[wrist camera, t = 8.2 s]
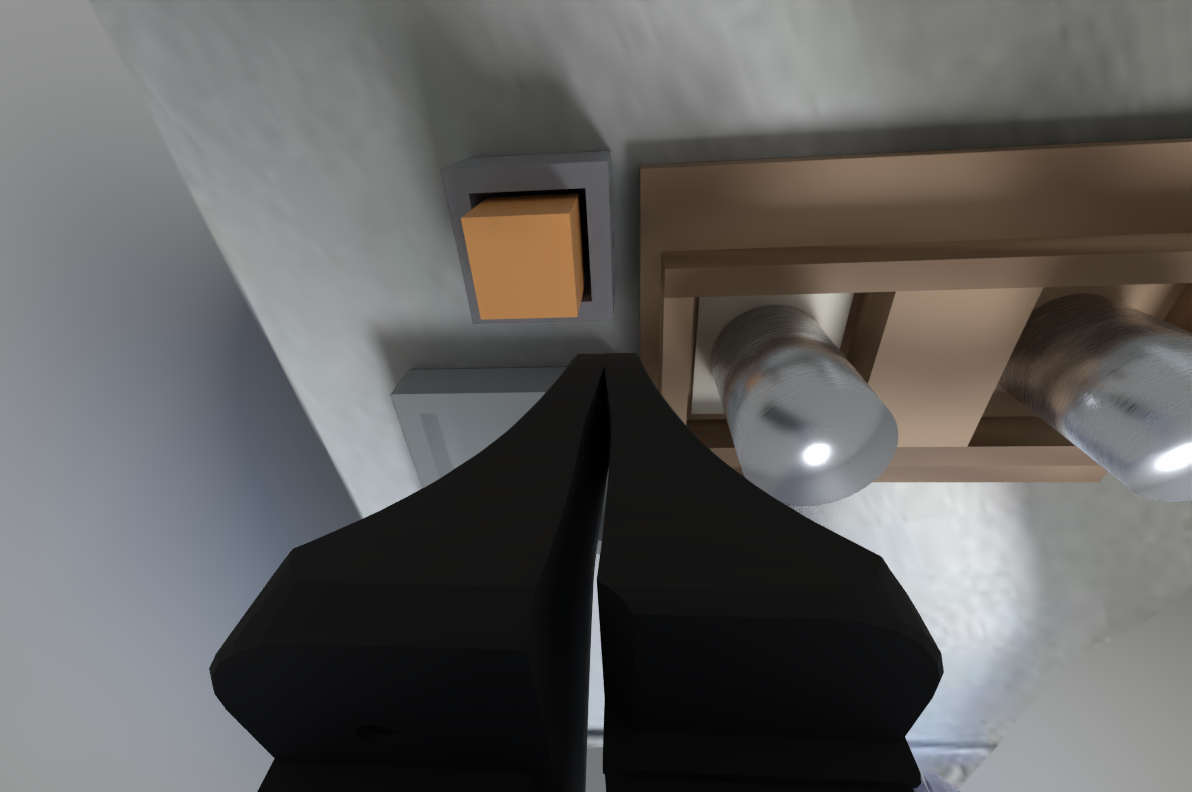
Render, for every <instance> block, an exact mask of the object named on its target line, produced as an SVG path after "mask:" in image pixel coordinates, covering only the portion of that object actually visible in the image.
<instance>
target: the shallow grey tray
mask: <svg viewBox="0 0 1192 792" xmlns="http://www.w3.org/2000/svg"><path fill="white" fill-rule="evenodd" d="M566 368H567V367H531V368H476V369H422V370H409V371H408V372H407V374H406V375H405V376H404V378H403V379H402V380H401V381H400V383H399V384H398V385H397V386H396V388H395V389H394V390H393V392H392V393H391V394H390V395H391V398H392V401H393V404H394V407H395V410H396V413H397V416H398V419H399V421H400V424H401V427H402V430H403V433H404V436H405V439H406V442H407V445H408V448H409V451H410V454H411V457H412V460H413V463H414V465H415V468H416V471H417V474H418V477H419V480H420V483H421V486H422V488H424V487H426V486H428V485H430V484H431V483H433V482H435V481H436V480H438V479H440V478H441V477H443V476H444V475H446V474H447V473H449V472H450V471H452V470H454V469H455V468H457V467H458V466H460V465H461V464H463V463H464V462H466V461H467V460H469V459H471V458H472V457H474V456H475V455H477V454H478V453H479V452H481V451H482V450H484V449H485V448H486V447H487V446H489V445H490V444H491V443H493V442H494V441H495V440H496V439H498V438H499V437H500V436H502V435H503V434H504V433H505V432H506V431H508V430H509V429H510V428H511V427H512V426H513V425H514V424H515V423H516V422H517V421H518V420H519V419H520V418H521V417H522V416H523V415H524V414H526V413H527V412H528V411H529V410H530V409H531V408H532V407H533V406H534V405H535V404H536V403H537V401H538V400H539V399H540V398H541V397H542V396H543V395H544V394H545V393H546V391H547V390H548V389H549V388H550V387H551V386H552V385H553V384H554V382H555V381H556V380H557V379H558V378H559V376H560V375H561V374H562V373H563V371H564V370H565V369H566ZM608 473H609V471H608ZM607 486H608V475H607V482H606V489H605V496H604V503H603V510H602V517H601V524H600V530H599V537H598V544H597V551H596V554H600V552H601V543H602V535H603V526H604V517H605V507H606V496H607Z"/></svg>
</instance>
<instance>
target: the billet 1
mask: <svg viewBox="0 0 1192 792" xmlns="http://www.w3.org/2000/svg"><path fill="white" fill-rule="evenodd" d="M710 363H711V370H712V374H713V377H714V380H715V384H716V387H717V390H718V394H719V397H720V400H721V403H722V407H723V410H724V413H725V416H726V420H727V423H728V426H729V429H730V433H731V436H732V439H733V442H734V446H735V449H736V452H737V456H738V459H739V462H740V465H741V469H742V472H743V474H744V476H745V478H746V479H748V480H749V481H750V482H752V483H753V484H754V485H756V486H757V487H759V488H760V489H762V490H763V491H765V492H766V493H768V494H769V495H771V496H772V497H774V498H775V499H777V500H779V501H780V502H782V503H783V504H788V505H797V506H812V505H820V504H825V503H830V502H834V501H837V500H840V499H843V498H846V497H848V496H850V495H852V494H854V493H856V492H858V491H860V490H862V489H863V488H865V487H866V486H868V485H869V484H870V483H872V482H873V481H874V480H875V479H876V478H877V477H879V476H880V475H881V473H882V472H883V471H884V470H885V469H886V468H887V466H888V465H889V463H890V462H891V460H892V458H893V456H894V454H895V451H896V448H897V444H898V427H897V423H896V421H895V418H894V416H893V415H892V413H891V412H890V410H889V409H888V408H887V407H886V405H885V404H884V403H883V402H882V401H881V399H880V398H879V397H878V396H877V394H876V393H875V392H874V391H873V390H872V388H871V387H870V386H869V385H868V384H867V382H866V381H865V380H864V379H863V378H862V376H861V375H860V374H859V373H858V372H857V370H856V369H855V368H854V367H853V366H852V364H851V363H850V362H849V361H848V360H847V358H846V357H845V356H844V355H843V353H842V352H841V351H840V350H839V349H838V347H837V346H836V345H835V344H834V343H833V341H832V340H831V339H830V338H829V337H828V335H827V334H826V333H825V332H824V331H823V329H822V328H821V327H820V326H819V325H818V323H817V322H816V321H815V320H814V319H813V318H812V317H811V316H810V315H809V314H807V313H806V312H804V311H802V310H800V309H798V308H795V307H793V306H788V305H780V304H773V305H765V306H760V307H756V308H753V309H751V310H748V311H746V312H744V313H742V314H740V315H739V316H737V317H736V318H734V319H733V320H732V321H731V322H729V323H728V324H727V325H726V326H725V327H724V329H723V330H722V331H721V332H720V334H719V335H718V337H717V339H716V341H715V343H714V345H713V348H712V352H711V359H710Z"/></svg>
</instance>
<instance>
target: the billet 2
mask: <svg viewBox="0 0 1192 792" xmlns="http://www.w3.org/2000/svg"><path fill="white" fill-rule="evenodd" d="M997 384H998V385H999V386H1000V387H1002V388H1003V389H1004V390H1005V391H1007V392H1008V393H1009V394H1010V395H1012V396H1013V397H1014V398H1016V399H1017V400H1018V401H1019V402H1021V403H1022V404H1023V405H1024V406H1026V407H1027V408H1028V409H1030V410H1031V411H1032V412H1033V413H1035V414H1036V415H1037V416H1038V417H1040V418H1041V419H1042V420H1043V421H1045V422H1046V423H1047V424H1049V425H1050V426H1051V427H1052V428H1054V429H1055V430H1056V431H1057V432H1059V433H1060V434H1061V435H1063V436H1064V437H1065V438H1066V439H1068V440H1069V441H1070V442H1071V443H1073V444H1074V445H1075V446H1077V447H1078V448H1079V449H1080V450H1082V451H1083V452H1084V453H1085V454H1087V455H1088V456H1089V457H1091V458H1092V459H1093V460H1094V461H1096V462H1097V463H1098V464H1099V465H1101V466H1102V467H1103V468H1105V469H1106V470H1107V471H1108V472H1110V473H1111V474H1112V475H1113V476H1115V477H1116V478H1117V479H1118V480H1120V481H1121V482H1122V483H1124V484H1125V485H1126V486H1127V487H1129V488H1130V489H1131V490H1132V491H1134V492H1135V493H1137V494H1138V495H1140V496H1142V497H1145V498H1148V499H1151V500H1156V501H1164V502H1183V501H1191V500H1192V333H1191V332H1188V331H1186V330H1184V329H1181V328H1179V327H1177V326H1174V325H1172V324H1170V323H1167V322H1165V321H1163V320H1160V319H1158V318H1156V317H1153V316H1151V315H1149V314H1146V313H1144V312H1141V311H1139V310H1137V309H1134V308H1132V307H1130V306H1127V305H1125V304H1123V303H1120V302H1118V301H1116V300H1113V299H1111V298H1109V297H1106V296H1103V295H1099V294H1091V293H1083V294H1074V295H1068V296H1064V297H1061V298H1057V299H1055V300H1052V301H1050V302H1047V303H1045V304H1043V305H1041V306H1039V307H1037V308H1036V309H1034V310H1032V312H1031V314H1030V316H1029V319H1028V321H1027V323H1026V325H1025V327H1024V329H1023V331H1022V333H1021V335H1020V337H1019V339H1018V342H1017V344H1016V346H1015V348H1014V350H1013V352H1012V354H1011V356H1010V358H1009V360H1008V362H1007V365H1006V367H1005V369H1004V371H1003V373H1002V375H1001V377H1000V379H999V381H998V383H997Z"/></svg>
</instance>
